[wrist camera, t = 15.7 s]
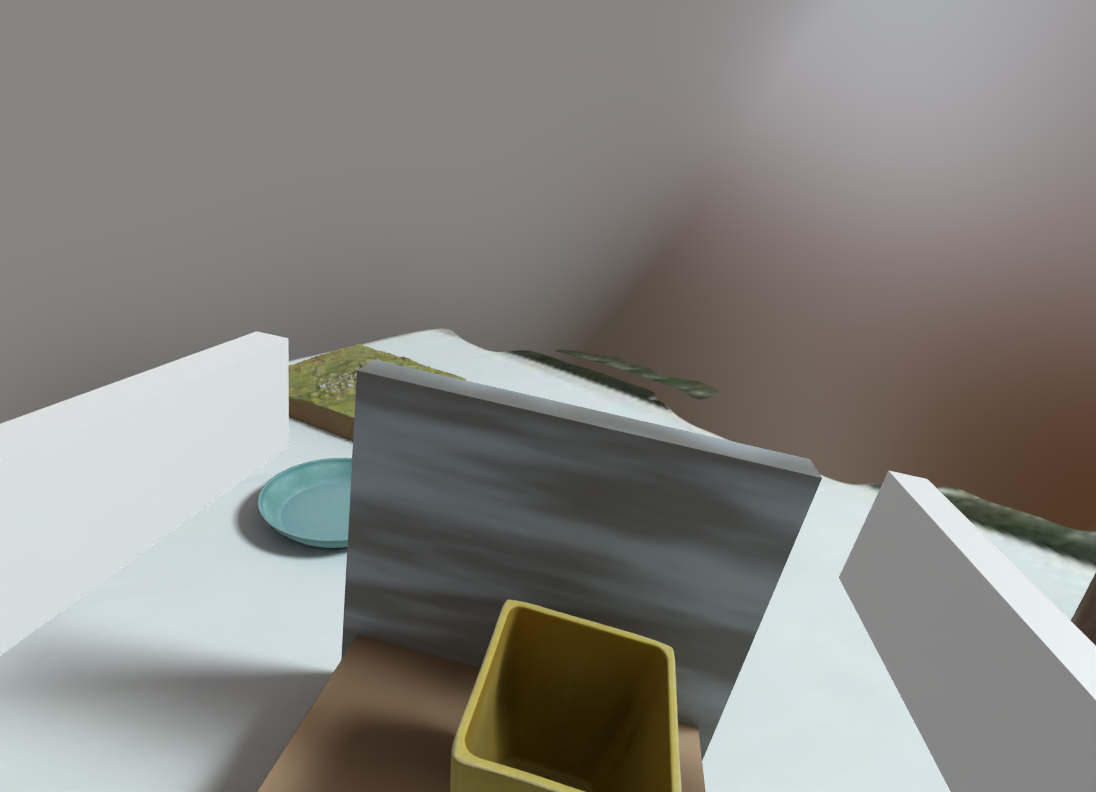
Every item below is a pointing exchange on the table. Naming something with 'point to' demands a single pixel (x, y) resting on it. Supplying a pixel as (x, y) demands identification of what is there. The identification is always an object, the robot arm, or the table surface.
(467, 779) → the flower pot
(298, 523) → the saucer
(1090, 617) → the plant pot
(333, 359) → the miniature landscape model
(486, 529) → the book stand
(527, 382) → the table surface
